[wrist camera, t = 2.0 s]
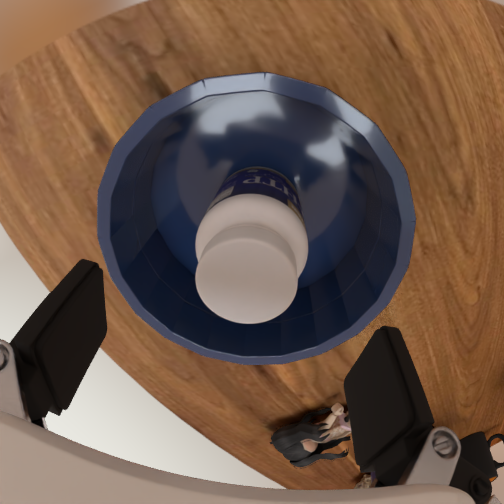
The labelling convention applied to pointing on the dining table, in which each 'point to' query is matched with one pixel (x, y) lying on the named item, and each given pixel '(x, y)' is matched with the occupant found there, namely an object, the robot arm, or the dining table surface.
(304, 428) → the toy figure
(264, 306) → the pill bottle
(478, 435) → the mug
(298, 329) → the bowl
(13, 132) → the dining table surface
